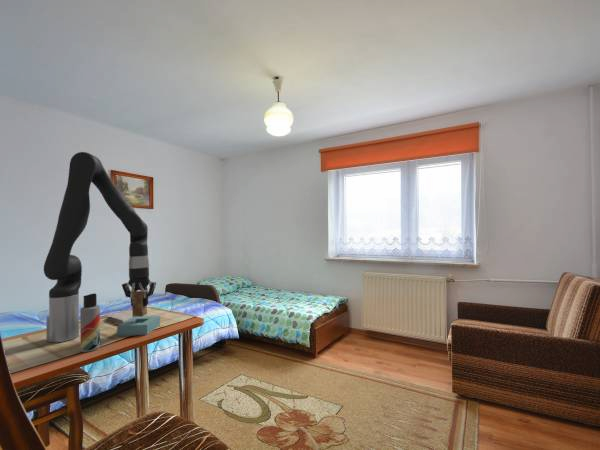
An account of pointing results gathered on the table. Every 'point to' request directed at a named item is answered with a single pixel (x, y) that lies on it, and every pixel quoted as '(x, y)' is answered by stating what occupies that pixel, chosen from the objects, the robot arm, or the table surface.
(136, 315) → the peg
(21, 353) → the table surface
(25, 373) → the table surface
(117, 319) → the washcloth
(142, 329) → the socket block
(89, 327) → the lotion bottle
